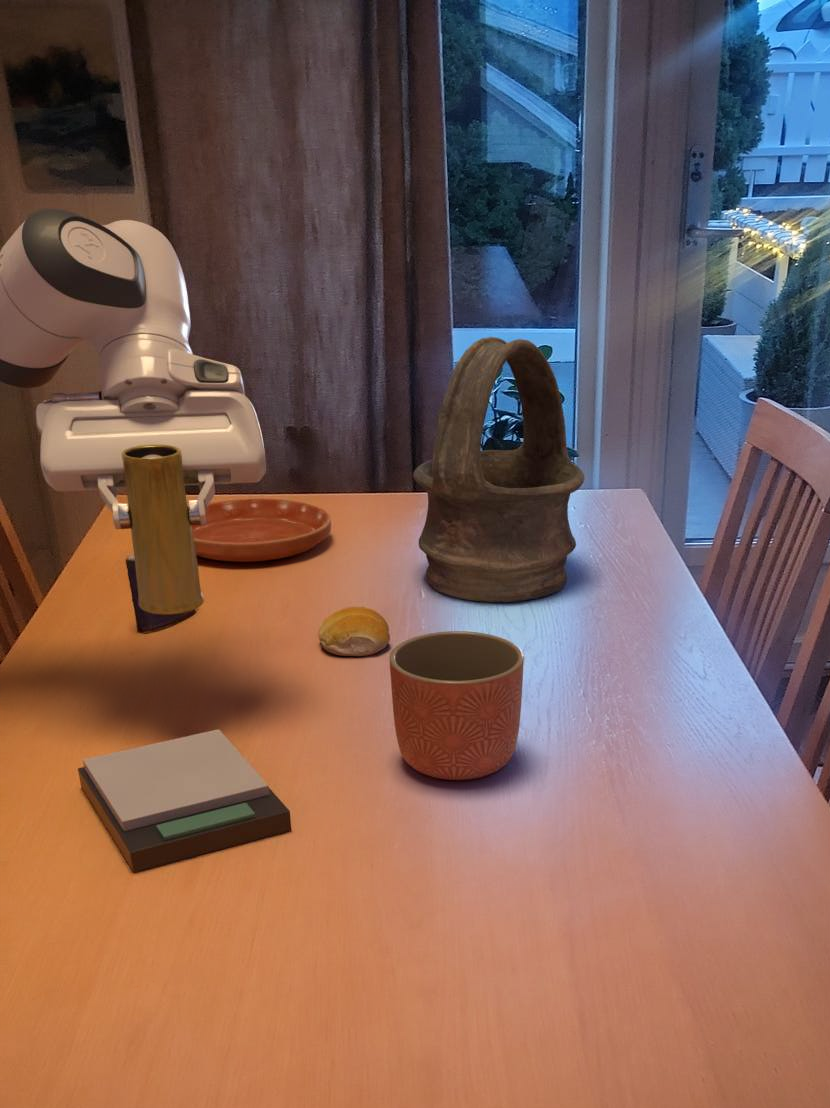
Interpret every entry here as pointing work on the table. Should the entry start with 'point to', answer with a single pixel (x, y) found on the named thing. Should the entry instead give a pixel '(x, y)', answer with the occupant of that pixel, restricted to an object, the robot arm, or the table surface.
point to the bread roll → (354, 632)
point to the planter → (457, 702)
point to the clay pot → (499, 484)
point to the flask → (145, 619)
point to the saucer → (259, 529)
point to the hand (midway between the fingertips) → (161, 524)
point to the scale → (181, 799)
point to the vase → (161, 530)
